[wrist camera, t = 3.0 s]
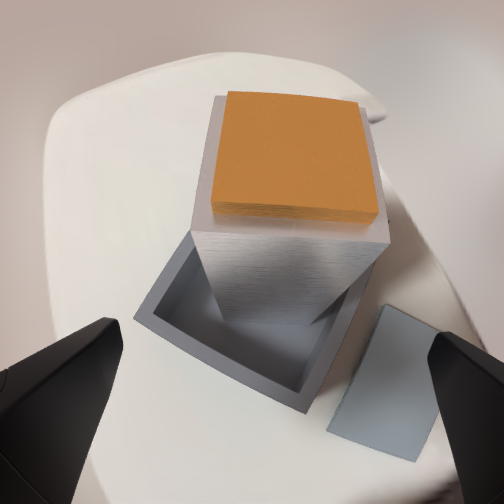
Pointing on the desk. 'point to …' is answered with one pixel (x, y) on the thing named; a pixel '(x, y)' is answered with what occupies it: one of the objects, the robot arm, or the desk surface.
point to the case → (246, 332)
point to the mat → (391, 389)
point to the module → (286, 205)
